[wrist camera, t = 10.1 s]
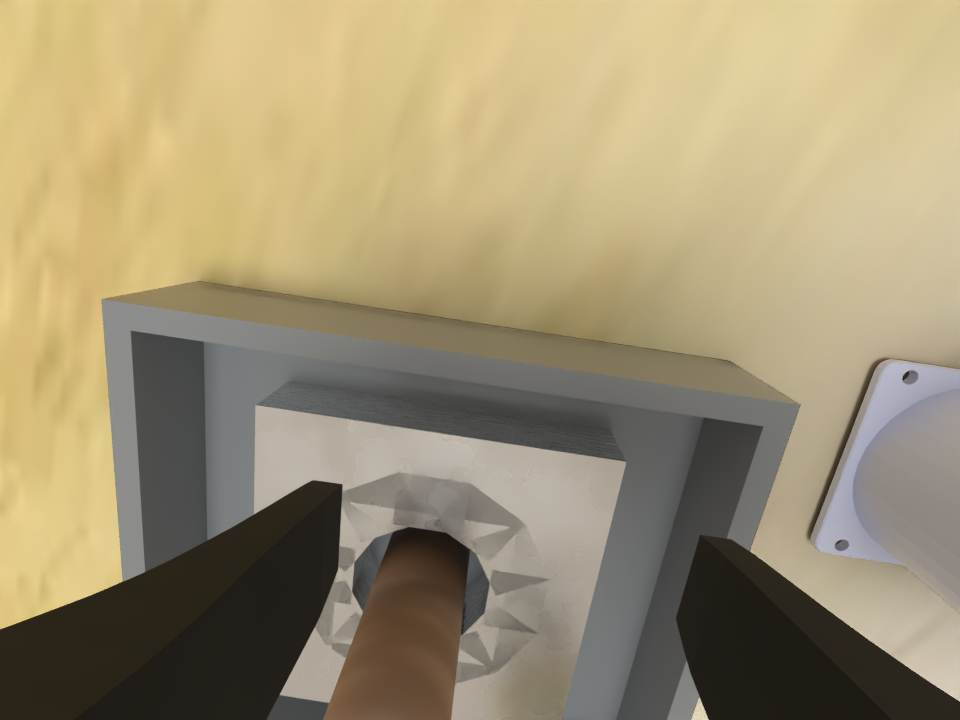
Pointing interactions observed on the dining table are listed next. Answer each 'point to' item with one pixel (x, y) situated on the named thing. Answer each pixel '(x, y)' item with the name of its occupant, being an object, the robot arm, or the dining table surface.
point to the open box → (457, 382)
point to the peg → (407, 633)
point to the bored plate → (453, 529)
